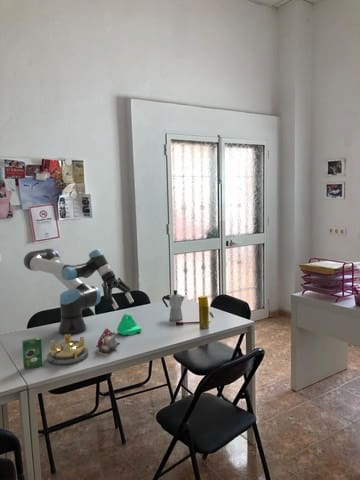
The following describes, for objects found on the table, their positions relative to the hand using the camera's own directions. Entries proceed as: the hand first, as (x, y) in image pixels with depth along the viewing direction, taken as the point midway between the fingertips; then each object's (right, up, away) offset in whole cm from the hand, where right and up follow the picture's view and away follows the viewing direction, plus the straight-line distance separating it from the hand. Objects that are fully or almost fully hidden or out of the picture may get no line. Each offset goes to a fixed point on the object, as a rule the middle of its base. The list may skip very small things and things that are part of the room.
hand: (124, 305), depth 221 cm
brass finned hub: (-23, -17, -32) cm, 43 cm away
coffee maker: (+28, -12, +23) cm, 38 cm away
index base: (-23, -20, -32) cm, 44 cm away
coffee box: (-36, -21, -42) cm, 59 cm away
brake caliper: (-5, -19, -24) cm, 31 cm away
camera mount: (+3, -16, 0) cm, 16 cm away
